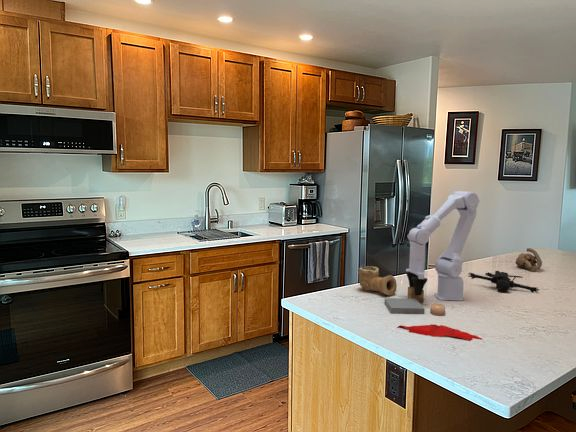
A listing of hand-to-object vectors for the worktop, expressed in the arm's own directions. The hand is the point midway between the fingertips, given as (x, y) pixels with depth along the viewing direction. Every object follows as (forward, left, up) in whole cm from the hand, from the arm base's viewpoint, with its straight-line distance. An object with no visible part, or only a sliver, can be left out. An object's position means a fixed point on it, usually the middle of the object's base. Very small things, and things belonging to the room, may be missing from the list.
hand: (415, 292), depth 170 cm
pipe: (+14, -11, -4) cm, 18 cm away
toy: (-47, -27, -4) cm, 54 cm away
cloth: (+1, +33, -4) cm, 34 cm away
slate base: (+7, +10, -3) cm, 13 cm away
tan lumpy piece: (-75, -61, -4) cm, 97 cm away
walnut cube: (0, 0, -4) cm, 4 cm away
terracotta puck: (-4, +15, -4) cm, 16 cm away
